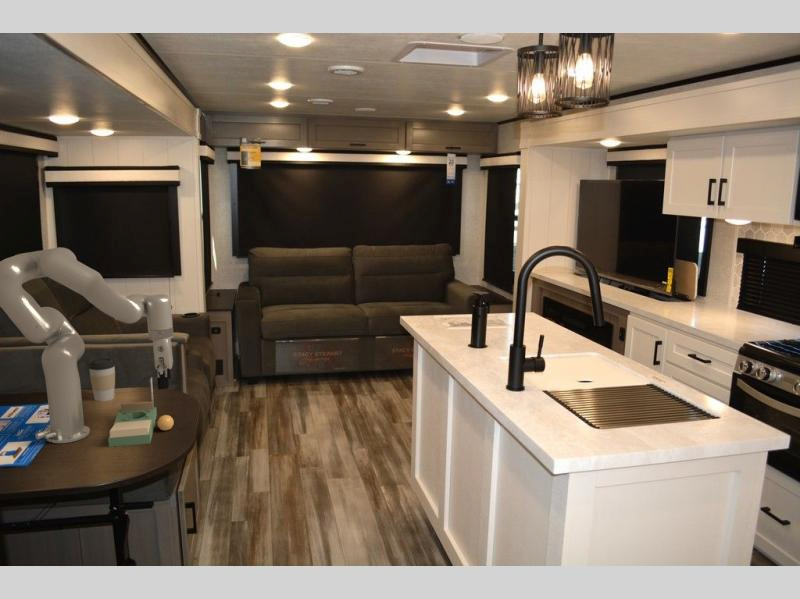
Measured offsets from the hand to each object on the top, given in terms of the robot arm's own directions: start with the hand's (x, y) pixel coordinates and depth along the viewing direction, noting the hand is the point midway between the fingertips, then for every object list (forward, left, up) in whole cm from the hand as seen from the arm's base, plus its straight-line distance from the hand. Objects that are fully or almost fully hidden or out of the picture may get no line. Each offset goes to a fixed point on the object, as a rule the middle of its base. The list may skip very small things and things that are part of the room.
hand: (164, 383), depth 209 cm
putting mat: (-6, +9, -16) cm, 19 cm away
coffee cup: (+8, +43, -16) cm, 47 cm away
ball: (0, 0, -14) cm, 14 cm away
